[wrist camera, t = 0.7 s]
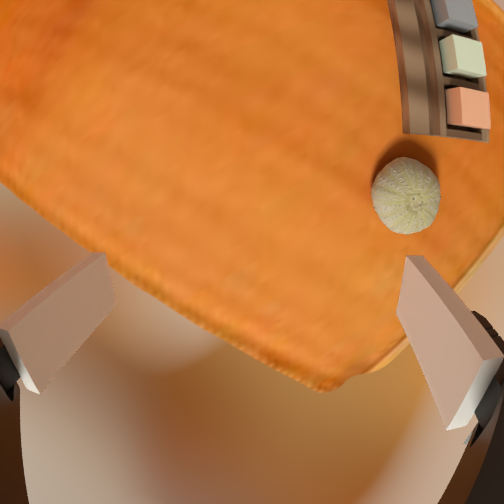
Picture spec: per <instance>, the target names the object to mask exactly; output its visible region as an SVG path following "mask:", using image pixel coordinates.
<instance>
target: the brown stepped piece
mask: <svg viewBox="0 0 504 504" xmlns="http://www.w3.org/2000/svg"><path fill="white" fill-rule="evenodd" d="M387 1H388V6H389V11H390V16H391V21H392V27H393V33H394V39H395V46H396V53H397V61H398V70H399V80H400V91H401V104H402V122H403V133H406V134H419V135H430V136H440V137H449V138H457V139H465V140H472V141H479V142H486V143H489V129H482V128H472V127H465V126H459V125H451V124H447V106H446V92H445V90H446V89H451V88H456V87H464V88H468V89H473V90H477V91H482V92H486V93H487V89H486V79H485V76H483V77H478V78H473V79H469V78H465V77H461V76H456V75H451V74H446V73H443V64H442V57H441V50H440V44H439V41H441V40H442V39H444V38H446V37H448V36H450V35H452V34H454V35H457V36H461V37H465V38H468V39H472V40H475V41H479V42H480V40H479V35H478V30H477V28H474V29H472V30H470V31H468V32H466V33H461V32H457V31H454V30H450V29H446V28H441V27H437V26H436V22H435V18H434V13H433V9H432V4H431V0H387Z"/></svg>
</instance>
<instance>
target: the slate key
mask: <svg viewBox="0 0 504 504" xmlns="http://www.w3.org/2000/svg"><path fill="white" fill-rule="evenodd" d="M431 4H432V9H433V13H434V18H435V22H436V26H437V27H441V28H446V29H450V30H454V31H457V32H461V33H466V32H468V31H470V30H472V29H474V28H477V27H478V23H477V19H476V15H475V11H474V7H473V3H472V0H431Z"/></svg>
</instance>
